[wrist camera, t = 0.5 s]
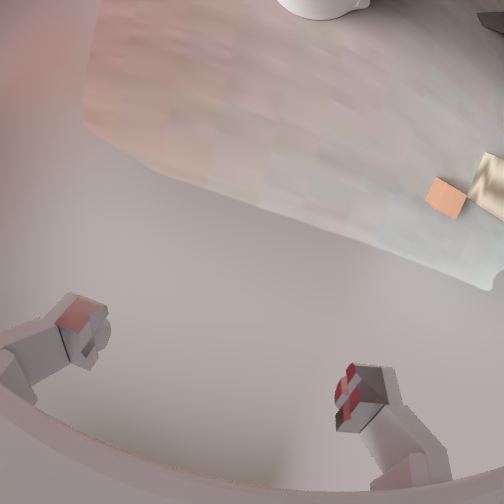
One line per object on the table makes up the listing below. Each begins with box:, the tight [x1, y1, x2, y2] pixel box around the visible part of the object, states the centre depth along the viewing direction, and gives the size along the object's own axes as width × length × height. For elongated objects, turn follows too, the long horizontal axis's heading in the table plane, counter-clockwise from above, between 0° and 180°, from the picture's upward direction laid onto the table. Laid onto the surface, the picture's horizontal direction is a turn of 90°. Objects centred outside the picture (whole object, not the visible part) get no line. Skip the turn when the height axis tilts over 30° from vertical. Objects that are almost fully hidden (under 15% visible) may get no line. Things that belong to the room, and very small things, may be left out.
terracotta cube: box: [426, 177, 467, 220], centre depth 46 cm, size 5×5×5 cm
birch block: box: [467, 152, 504, 222], centre depth 42 cm, size 10×12×6 cm
